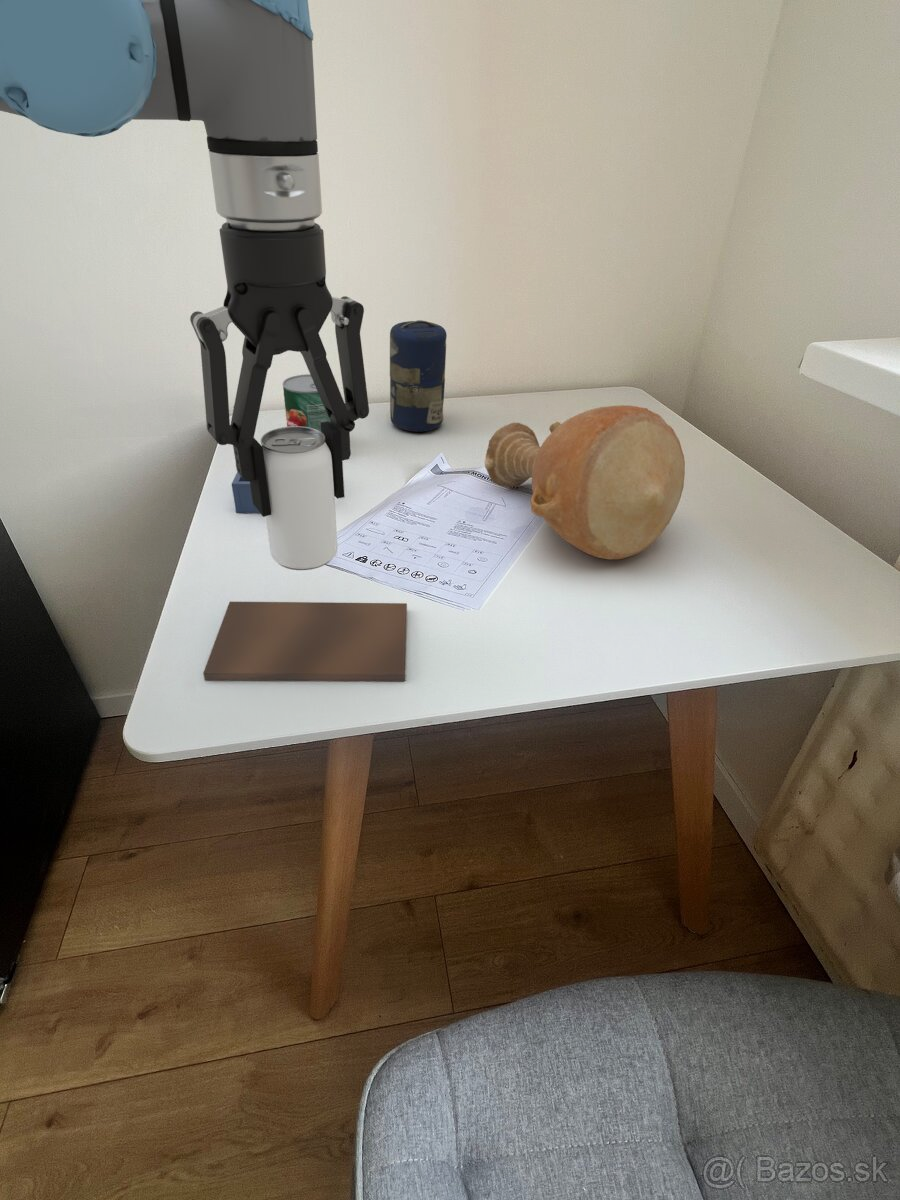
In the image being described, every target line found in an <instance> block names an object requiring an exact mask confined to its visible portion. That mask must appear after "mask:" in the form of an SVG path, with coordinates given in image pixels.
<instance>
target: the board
mask: <svg viewBox="0 0 900 1200" xmlns="http://www.w3.org/2000/svg"><path fill="white" fill-rule="evenodd" d="M407 620H408V604H407V602H405V603H404V602H324V601H323V602H322V601H321V602H318V601H317V602H315V601H314V602H313V601H309V602H308V601H229V602H228V605H227V608H226V610H225V613H224V616H223V619H222V621H221V623H220V627H219V629H218V632H217V634H216V637H215V640H214V643H213V646H212V648H211V651H210V654H209V656H208V659H207V661H206V663H205V667H204V670H203V672H202V674H203V679H204V681H272V682H273V681H275V682H276V681H279V682H281V681H283V682H284V681H285V682H286V681H287V682H289V681H290V682H292V681H294V682H295V681H296V682H299V681H301V682H302V681H303V682H304V681H306V682H312V681H314V682H405V681H406V668H407V667H406V666H407V664H406V662H407V625H408V624H407V622H408V621H407Z"/></svg>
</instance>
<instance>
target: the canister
mask: <svg viewBox="0 0 900 1200" xmlns="http://www.w3.org/2000/svg"><path fill="white" fill-rule="evenodd" d="M447 337H448V335H447V330H446V329H445V328H444V327H443V326H442V325H440V324H438V323H434V322H431V321H427V320H422V319H419V320H409V321H402V322H398V323H396V324H394V325H393V326H392V327H391V328H390V331H389V379H390V380H389V392H390V393H389V405H390V406H389V417H390V421H391V423H392V424H393V425H394V426H395V427H397V428H399V429H401V430H405V431H409V432H420V433H421V432H422V433H423V432H428V431H433V430H435V429H438V427H440V426H441V425H442V423H443V421H444V403H445V385H446V361H447V360H446V359H447V358H446V357H447Z"/></svg>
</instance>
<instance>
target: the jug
mask: <svg viewBox="0 0 900 1200" xmlns="http://www.w3.org/2000/svg"><path fill="white" fill-rule="evenodd" d="M548 430H549V431H550V434H549V435H548V436H547V437H546V438H545V440H543V442H542V444H541V445H540V443H539V440H538V438H537V436H536V433H535V432H534V431H533V429H531V427H529V426H527V425H525V424H523V423H520V422H511V423H509V424H506V425H504V426H502V427H500V428H498V429H497V430H495V432H494V433H493V435H492V436H491V438H489V440H488V446H487V449H486V453H485V458H484V459H485V460H484V468H485V470H486V471H487V475H488V476H489V479H490V480H491V481H492V483H494V484H495V485H498V486H500V487H504V488H515V487H517V486H521V485H522V484H524V483H526V481H528V480H529V479H530V478H531V489H532V495H531V499H530V510H531V512H532V513H533V514H534V515H535V516H537V517H541V518H543V520H544V521H545V523H547V525H548V526H549V527H550V528H551V529H552V530H553V532H555V533H557V535H558V536H559V537H561V538H562V539H563V540H564V541H566V542H567V543H568V544H570V545H571V546H573V547H574V548H576V549H577V550H579V551H581V552H582V553H583V552H584V553H585V554H587V555H590V556H592V557H595V558H598V559H604V560H623V559H626V558H628V557H631V556H632V557H633V556H635V555H637V554H639V553H641V552H642V551H644V550H645V549H647V548H648V547H649V546H651V545H652V544H653V543H654V542H655V541H656V540H657V539H658V538H659V536H660V535H662V533H663V532H664V531H665V529H666V528H667V526H668V525H669V524H670V522H671V520H672V518H673V516H674V514H675V513H676V511H677V508H678V506H679V503H680V501H681V497H682V494H683V492H684V488H685V487H684V486H685V476H686V475H685V474H686V461H685V455H684V452H683V449H682V448H683V447H682V445H681V441H680V439H679V437H678V436H677V434H676V432H675V430H674V428H673V427H672V426H671V425H670V424H668V423H667V422H666V421H665V419H664V418H663V417H662V416H661V415H660V414H659V413H656V412H654V411H651V410H649V408H647V407H641V406H637V405H622V404H621V405H620V404H619V405H608V406H600V407H595V408H592V409H588V410H586V411H583V412H580V413H578V414H576V415H574V416H572V417H569V418H568V419H566V420H565V421H563V422H562V423H560V422H559V421H555V422H553V423H552V424H551V425H550V426H549V428H548Z"/></svg>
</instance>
